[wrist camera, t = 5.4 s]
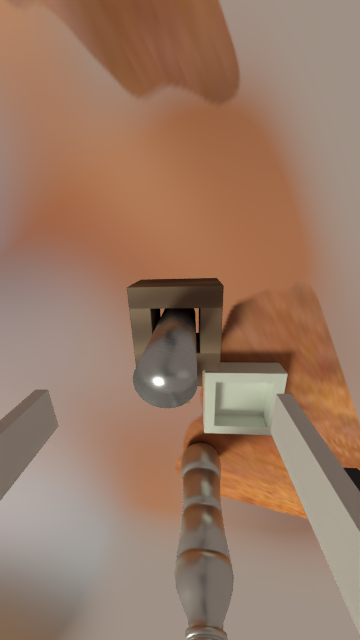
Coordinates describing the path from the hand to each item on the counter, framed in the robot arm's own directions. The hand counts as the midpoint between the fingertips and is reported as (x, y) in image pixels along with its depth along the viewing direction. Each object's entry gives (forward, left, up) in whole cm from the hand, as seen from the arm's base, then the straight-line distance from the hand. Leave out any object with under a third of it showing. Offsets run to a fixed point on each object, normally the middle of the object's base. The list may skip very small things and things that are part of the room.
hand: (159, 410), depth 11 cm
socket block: (+1, 0, -17) cm, 17 cm away
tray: (+13, +9, -17) cm, 23 cm away
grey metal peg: (0, 0, -17) cm, 17 cm away
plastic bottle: (+26, +3, -17) cm, 31 cm away
